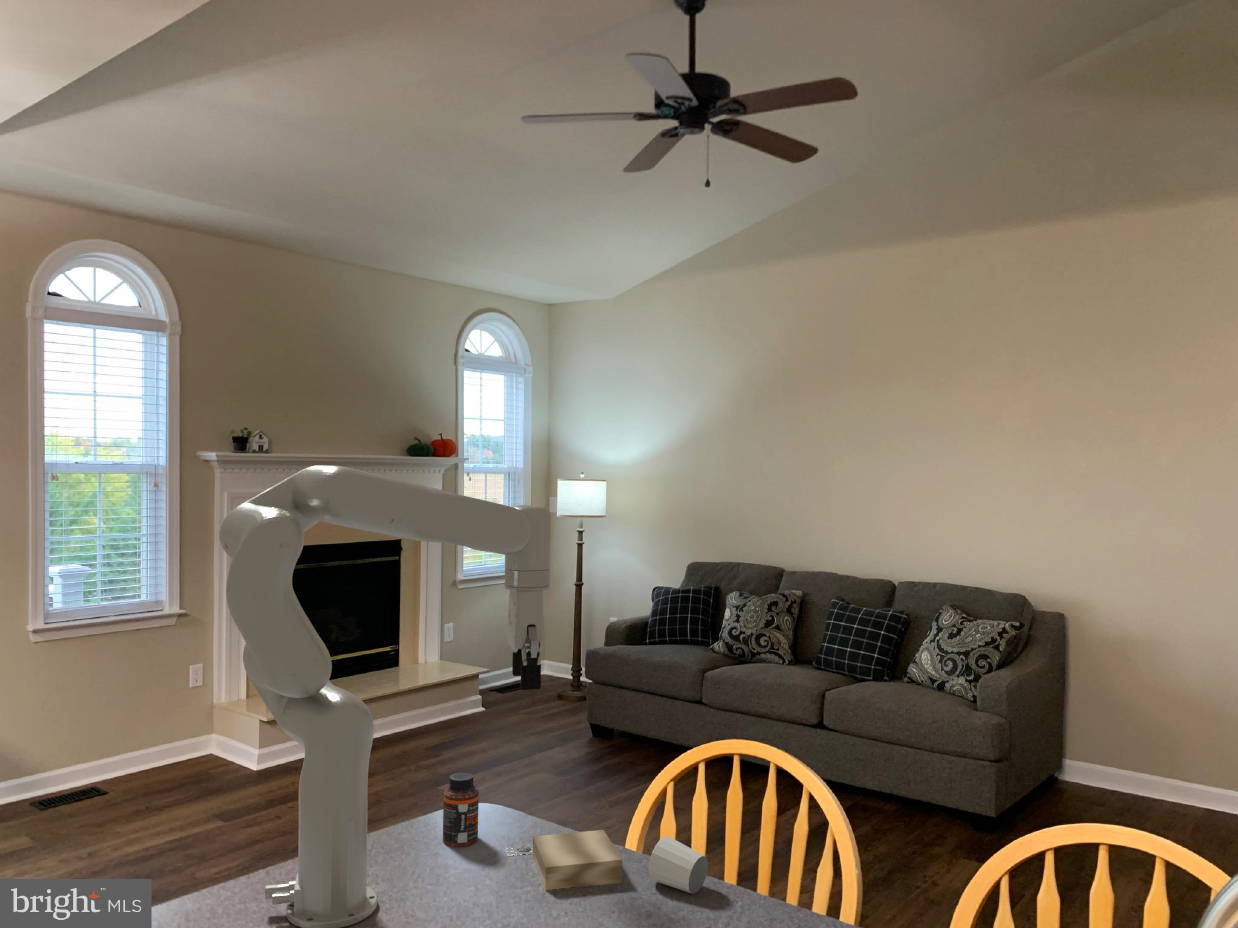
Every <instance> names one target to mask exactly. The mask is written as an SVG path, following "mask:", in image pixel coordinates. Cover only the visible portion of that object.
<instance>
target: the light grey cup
mask: <svg viewBox="0 0 1238 928" xmlns="http://www.w3.org/2000/svg"><path fill="white" fill-rule="evenodd" d="M648 861H649V862H648V876H649V878H650V879H651V881H654V882H656V883H660V884H663V885H666V886H668V887H672V888H675V889H678V890H681V891H683V892H686V893H690V894H697V893H698V892H699V891H700V890H701V888H702V887H703V885H704V883H705V881H706V878H707V875H708V871H709V861H708V858H707V857H706V856H705V855H703V854H702V853H700V852H698V851H696V850H695V849H693V848H691V847H689V846H687V845H685V844H684V843H682V842H681V841H678V840H677V839H675V838H673V837H671V836H667V835H665V836H663V837H661V838H660V839H659V840H658V842H657V843H656V844H655V846H654V847H653V850H652V852H651V855H650V858H649V860H648Z"/></svg>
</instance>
